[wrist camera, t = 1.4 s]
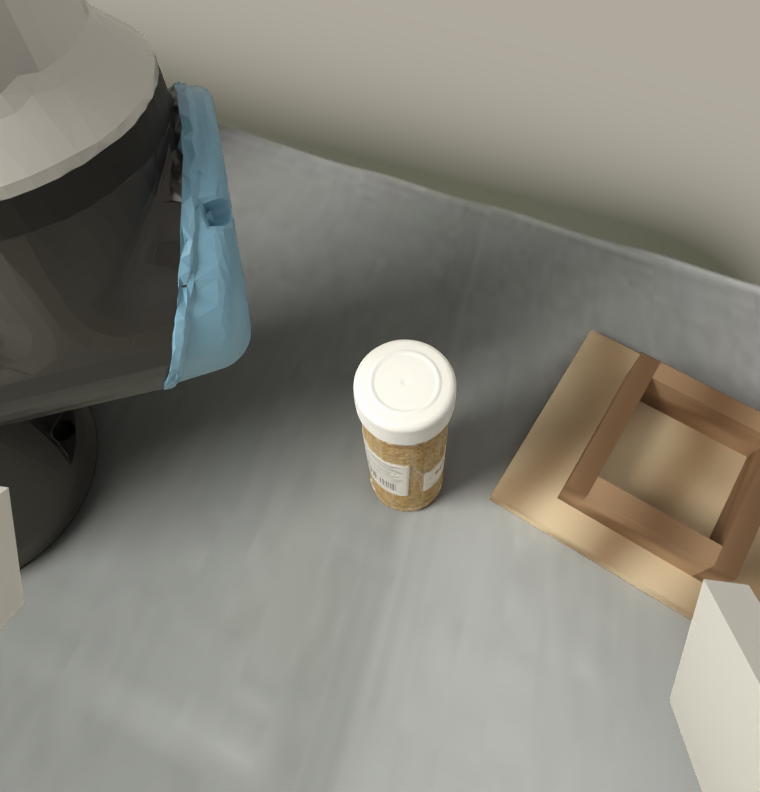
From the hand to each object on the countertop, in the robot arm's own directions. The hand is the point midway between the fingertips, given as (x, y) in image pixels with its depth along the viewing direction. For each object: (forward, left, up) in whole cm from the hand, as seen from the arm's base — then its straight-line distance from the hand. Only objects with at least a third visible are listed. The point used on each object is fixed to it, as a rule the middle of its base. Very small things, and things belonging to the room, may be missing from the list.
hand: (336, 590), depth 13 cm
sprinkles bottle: (-5, +10, -27) cm, 29 cm away
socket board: (+8, +18, -27) cm, 33 cm away
